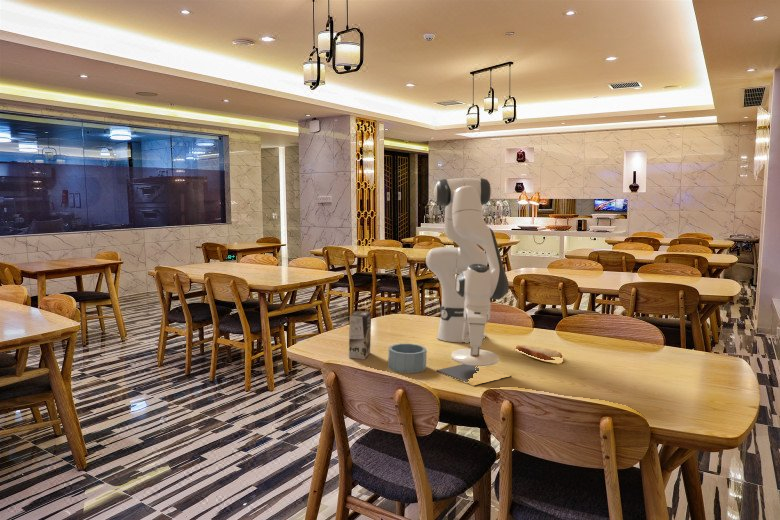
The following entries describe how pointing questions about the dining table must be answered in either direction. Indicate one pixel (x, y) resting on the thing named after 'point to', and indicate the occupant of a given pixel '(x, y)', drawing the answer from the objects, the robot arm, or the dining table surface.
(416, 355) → the bowl
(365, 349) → the coffee box
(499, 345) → the dining table surface
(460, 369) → the mat
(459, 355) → the lid
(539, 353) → the bread slice
